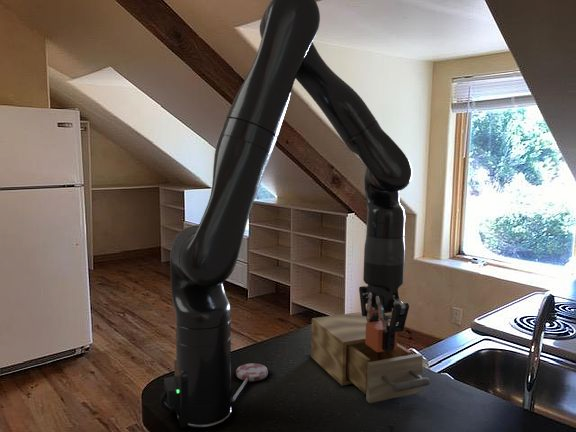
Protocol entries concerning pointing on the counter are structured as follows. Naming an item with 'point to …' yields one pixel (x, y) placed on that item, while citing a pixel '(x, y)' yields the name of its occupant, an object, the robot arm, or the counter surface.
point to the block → (376, 335)
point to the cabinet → (336, 341)
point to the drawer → (384, 372)
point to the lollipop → (250, 375)
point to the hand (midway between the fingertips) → (380, 344)
